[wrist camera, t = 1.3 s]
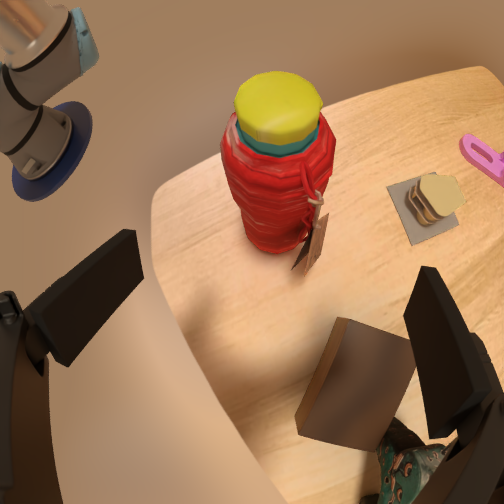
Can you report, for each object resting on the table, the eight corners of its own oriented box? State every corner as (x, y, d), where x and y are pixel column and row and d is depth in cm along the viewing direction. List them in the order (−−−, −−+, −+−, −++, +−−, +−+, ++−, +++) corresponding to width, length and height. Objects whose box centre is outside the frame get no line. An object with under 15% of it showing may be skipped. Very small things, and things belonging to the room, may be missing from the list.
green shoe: (365, 410, 32) (435, 485, 12) (408, 403, 31) (494, 459, 12) (348, 513, 28) (377, 597, 8) (386, 505, 27) (429, 579, 8)
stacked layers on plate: (435, 171, 37) (451, 156, 31) (459, 224, 35) (479, 214, 30) (386, 187, 37) (400, 170, 31) (411, 246, 35) (430, 236, 30)
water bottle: (334, 260, 36) (436, 177, 11) (280, 294, 35) (297, 269, 11) (284, 184, 38) (292, 28, 13) (232, 214, 38) (170, 77, 13)
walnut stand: (294, 416, 32) (297, 435, 26) (337, 316, 34) (349, 318, 28) (361, 433, 31) (374, 452, 25) (403, 339, 33) (424, 344, 27)
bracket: (508, 167, 36) (528, 152, 29) (508, 190, 35) (530, 177, 28) (459, 132, 38) (478, 112, 31) (458, 155, 37) (478, 135, 30)
